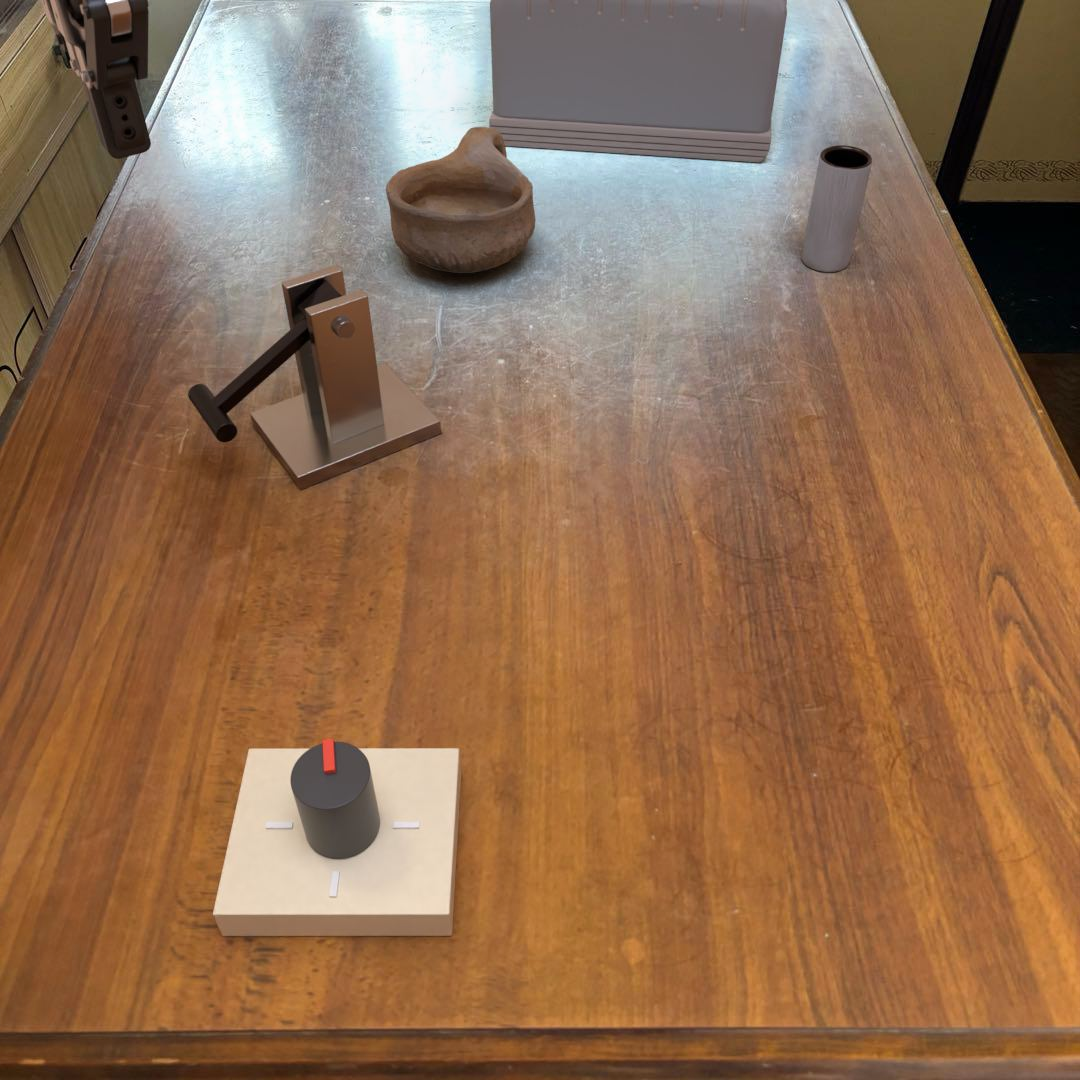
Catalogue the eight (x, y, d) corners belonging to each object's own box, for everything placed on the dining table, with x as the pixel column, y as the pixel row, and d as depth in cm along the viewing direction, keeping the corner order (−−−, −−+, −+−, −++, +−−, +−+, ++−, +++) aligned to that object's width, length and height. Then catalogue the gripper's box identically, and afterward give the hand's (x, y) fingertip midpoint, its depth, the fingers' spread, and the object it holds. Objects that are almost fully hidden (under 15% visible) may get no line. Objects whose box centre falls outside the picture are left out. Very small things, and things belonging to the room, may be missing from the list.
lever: (229, 449, 78) (207, 431, 76) (200, 408, 81) (179, 390, 79) (368, 325, 78) (350, 305, 76) (334, 290, 81) (316, 269, 80)
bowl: (386, 185, 112) (406, 91, 105) (520, 221, 114) (547, 131, 108) (366, 280, 99) (387, 179, 92) (517, 317, 102) (548, 222, 95)
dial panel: (222, 936, 57) (211, 913, 56) (256, 772, 65) (248, 746, 63) (452, 936, 58) (449, 912, 56) (461, 772, 65) (459, 746, 63)
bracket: (300, 490, 82) (270, 347, 73) (252, 425, 87) (219, 284, 78) (441, 433, 86) (429, 292, 77) (388, 375, 92) (371, 236, 83)
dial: (383, 852, 58) (372, 798, 54) (306, 865, 58) (290, 811, 54) (377, 788, 61) (366, 732, 57) (304, 799, 60) (288, 743, 57)
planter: (792, 262, 104) (811, 159, 97) (813, 242, 107) (833, 140, 99) (836, 278, 102) (859, 173, 95) (857, 257, 105) (881, 153, 97)
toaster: (767, 35, 143) (790, -121, 130) (767, 163, 118) (795, -15, 105) (537, 23, 146) (536, -131, 133) (489, 145, 121) (483, -30, 108)
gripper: (-115, -271, 48) (20, 120, 60) (-43, -213, 40) (95, 224, 52) (60, -289, 50) (154, 89, 63) (159, -237, 43) (245, 182, 55)
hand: (127, 149), depth 57 cm, fingers closed
